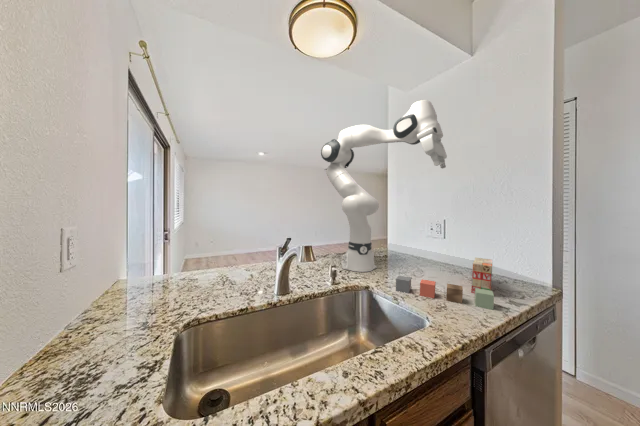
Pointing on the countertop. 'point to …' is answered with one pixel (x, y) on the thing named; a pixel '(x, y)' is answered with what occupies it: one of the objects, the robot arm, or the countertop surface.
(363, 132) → the robot arm
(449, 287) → the walnut cube
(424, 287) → the red cube
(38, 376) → the countertop surface
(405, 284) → the charcoal cube
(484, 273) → the cardboard box
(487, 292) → the sage cube
